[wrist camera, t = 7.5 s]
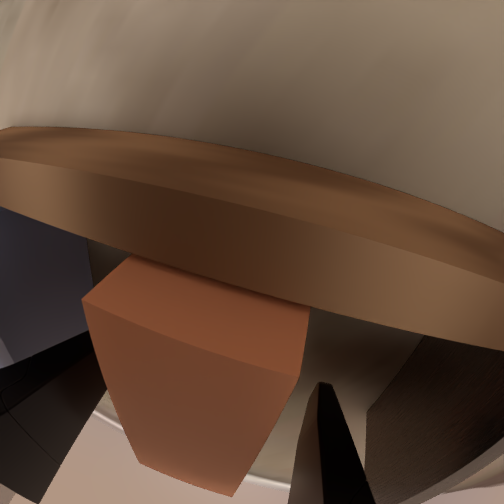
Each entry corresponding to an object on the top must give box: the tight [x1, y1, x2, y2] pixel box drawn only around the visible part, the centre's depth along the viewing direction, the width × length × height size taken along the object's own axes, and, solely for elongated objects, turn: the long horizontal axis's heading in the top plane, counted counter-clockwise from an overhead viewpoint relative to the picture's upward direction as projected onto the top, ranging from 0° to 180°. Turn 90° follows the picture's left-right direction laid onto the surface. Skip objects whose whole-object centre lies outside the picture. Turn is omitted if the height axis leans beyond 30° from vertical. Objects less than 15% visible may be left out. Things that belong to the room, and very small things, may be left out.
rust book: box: [81, 253, 311, 497], centre depth 8 cm, size 4×8×6 cm, turn 170°
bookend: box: [364, 335, 504, 504], centre depth 7 cm, size 4×8×6 cm, turn 170°
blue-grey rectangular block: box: [0, 206, 94, 368], centre depth 9 cm, size 4×8×6 cm, turn 170°
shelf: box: [0, 127, 504, 351], centre depth 8 cm, size 23×11×6 cm, turn 80°
